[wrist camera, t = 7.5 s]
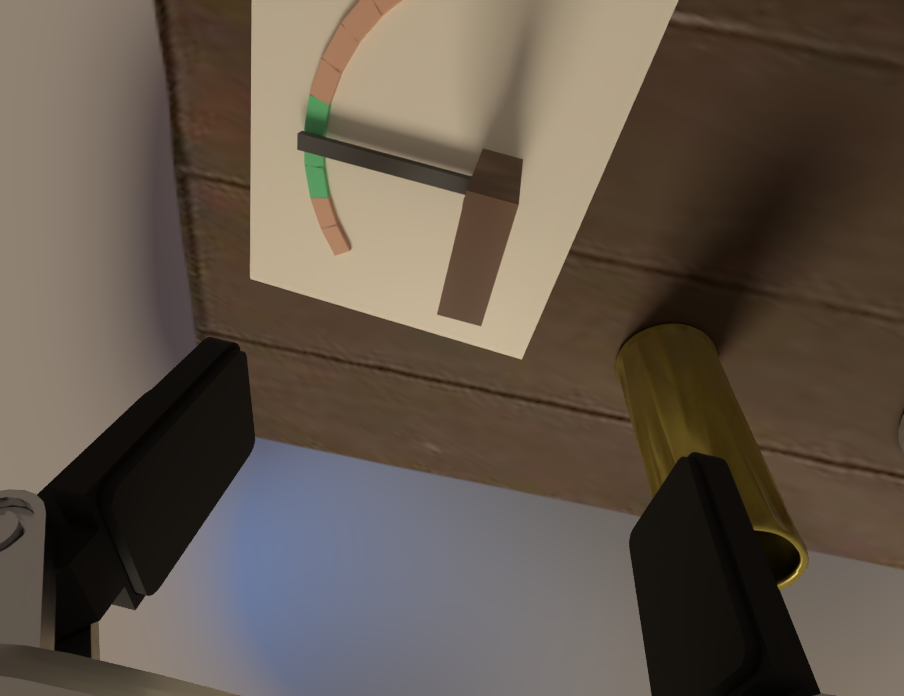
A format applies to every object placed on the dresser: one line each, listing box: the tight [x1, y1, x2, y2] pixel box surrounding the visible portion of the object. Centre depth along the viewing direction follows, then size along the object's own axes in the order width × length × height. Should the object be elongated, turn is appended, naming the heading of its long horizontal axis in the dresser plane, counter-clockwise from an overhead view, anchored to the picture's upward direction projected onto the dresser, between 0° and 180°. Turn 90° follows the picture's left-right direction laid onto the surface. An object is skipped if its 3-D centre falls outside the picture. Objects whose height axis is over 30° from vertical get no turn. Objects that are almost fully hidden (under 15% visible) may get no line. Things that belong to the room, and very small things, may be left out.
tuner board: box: [250, 0, 678, 359], centre depth 26 cm, size 18×20×2 cm
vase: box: [615, 323, 809, 590], centre depth 26 cm, size 6×6×14 cm
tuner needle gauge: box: [297, 131, 523, 326], centre depth 21 cm, size 11×5×9 cm, turn 78°
